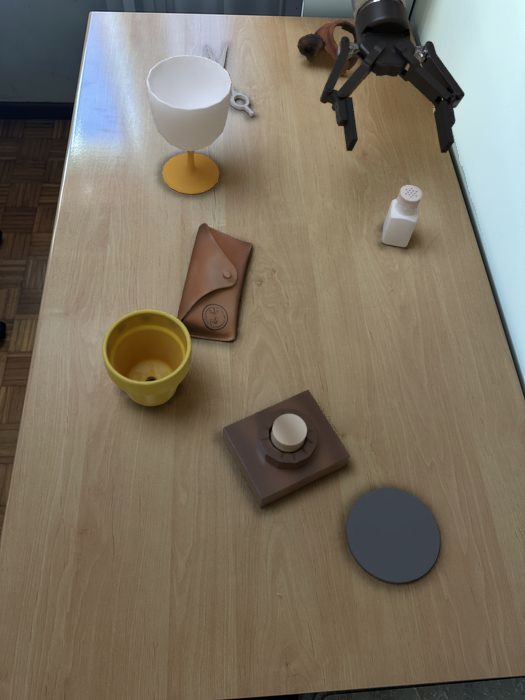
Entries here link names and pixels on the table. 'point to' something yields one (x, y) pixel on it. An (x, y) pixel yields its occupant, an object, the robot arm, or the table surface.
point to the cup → (189, 116)
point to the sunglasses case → (213, 285)
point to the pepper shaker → (402, 217)
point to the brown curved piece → (327, 43)
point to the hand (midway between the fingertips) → (400, 146)
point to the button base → (278, 466)
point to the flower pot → (147, 355)
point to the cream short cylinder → (288, 432)
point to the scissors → (234, 93)
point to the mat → (392, 535)
